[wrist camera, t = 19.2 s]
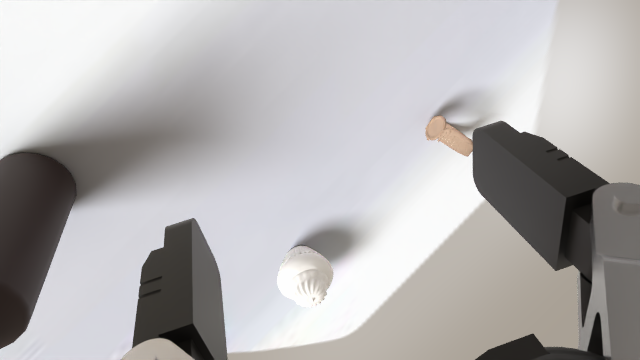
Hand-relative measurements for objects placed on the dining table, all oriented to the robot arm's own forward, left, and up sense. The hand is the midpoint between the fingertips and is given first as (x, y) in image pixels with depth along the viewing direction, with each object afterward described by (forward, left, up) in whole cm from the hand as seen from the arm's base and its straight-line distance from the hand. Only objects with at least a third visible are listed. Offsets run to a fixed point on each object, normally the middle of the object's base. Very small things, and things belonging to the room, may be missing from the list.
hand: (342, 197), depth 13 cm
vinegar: (+22, +10, -28) cm, 37 cm away
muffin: (+2, +28, -28) cm, 40 cm away
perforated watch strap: (-16, +17, -28) cm, 37 cm away
